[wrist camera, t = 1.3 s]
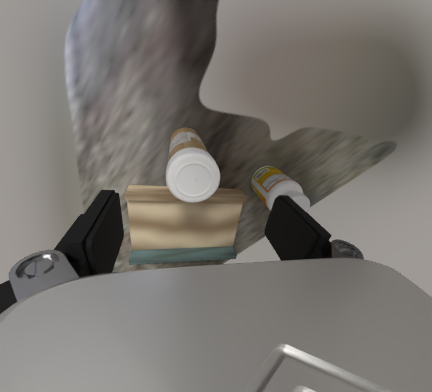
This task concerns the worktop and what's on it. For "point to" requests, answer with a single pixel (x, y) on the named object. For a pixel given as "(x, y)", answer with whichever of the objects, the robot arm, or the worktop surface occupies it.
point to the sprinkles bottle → (190, 167)
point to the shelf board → (181, 225)
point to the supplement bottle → (277, 187)
